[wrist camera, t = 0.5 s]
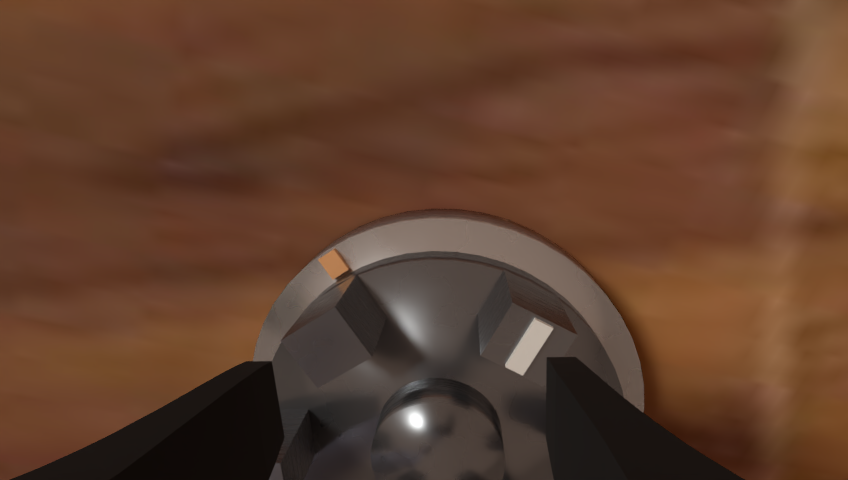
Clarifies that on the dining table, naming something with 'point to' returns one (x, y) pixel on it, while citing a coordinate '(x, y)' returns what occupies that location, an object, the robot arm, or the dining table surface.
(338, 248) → the cap base
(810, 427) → the dining table surface
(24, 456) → the dining table surface
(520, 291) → the finned metal hub
